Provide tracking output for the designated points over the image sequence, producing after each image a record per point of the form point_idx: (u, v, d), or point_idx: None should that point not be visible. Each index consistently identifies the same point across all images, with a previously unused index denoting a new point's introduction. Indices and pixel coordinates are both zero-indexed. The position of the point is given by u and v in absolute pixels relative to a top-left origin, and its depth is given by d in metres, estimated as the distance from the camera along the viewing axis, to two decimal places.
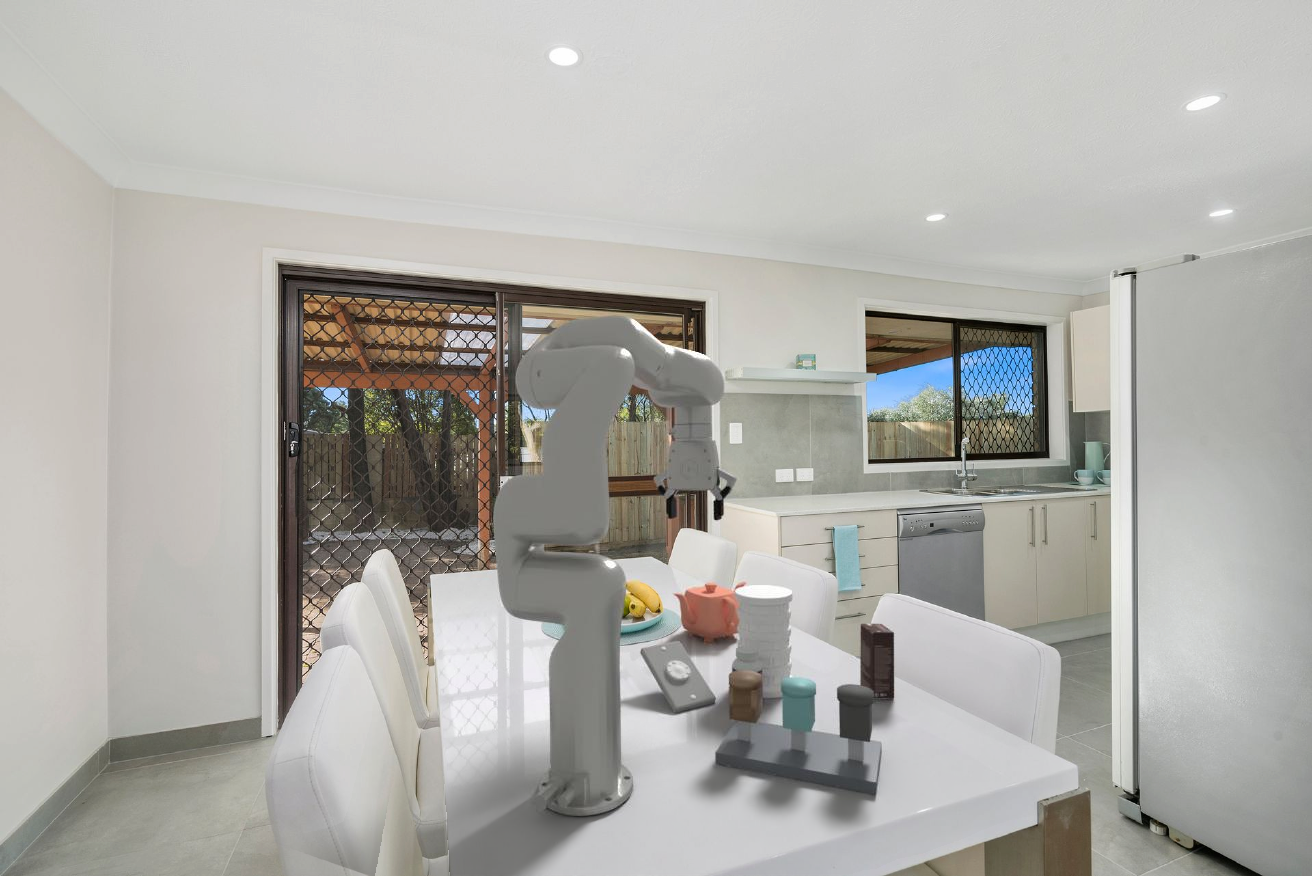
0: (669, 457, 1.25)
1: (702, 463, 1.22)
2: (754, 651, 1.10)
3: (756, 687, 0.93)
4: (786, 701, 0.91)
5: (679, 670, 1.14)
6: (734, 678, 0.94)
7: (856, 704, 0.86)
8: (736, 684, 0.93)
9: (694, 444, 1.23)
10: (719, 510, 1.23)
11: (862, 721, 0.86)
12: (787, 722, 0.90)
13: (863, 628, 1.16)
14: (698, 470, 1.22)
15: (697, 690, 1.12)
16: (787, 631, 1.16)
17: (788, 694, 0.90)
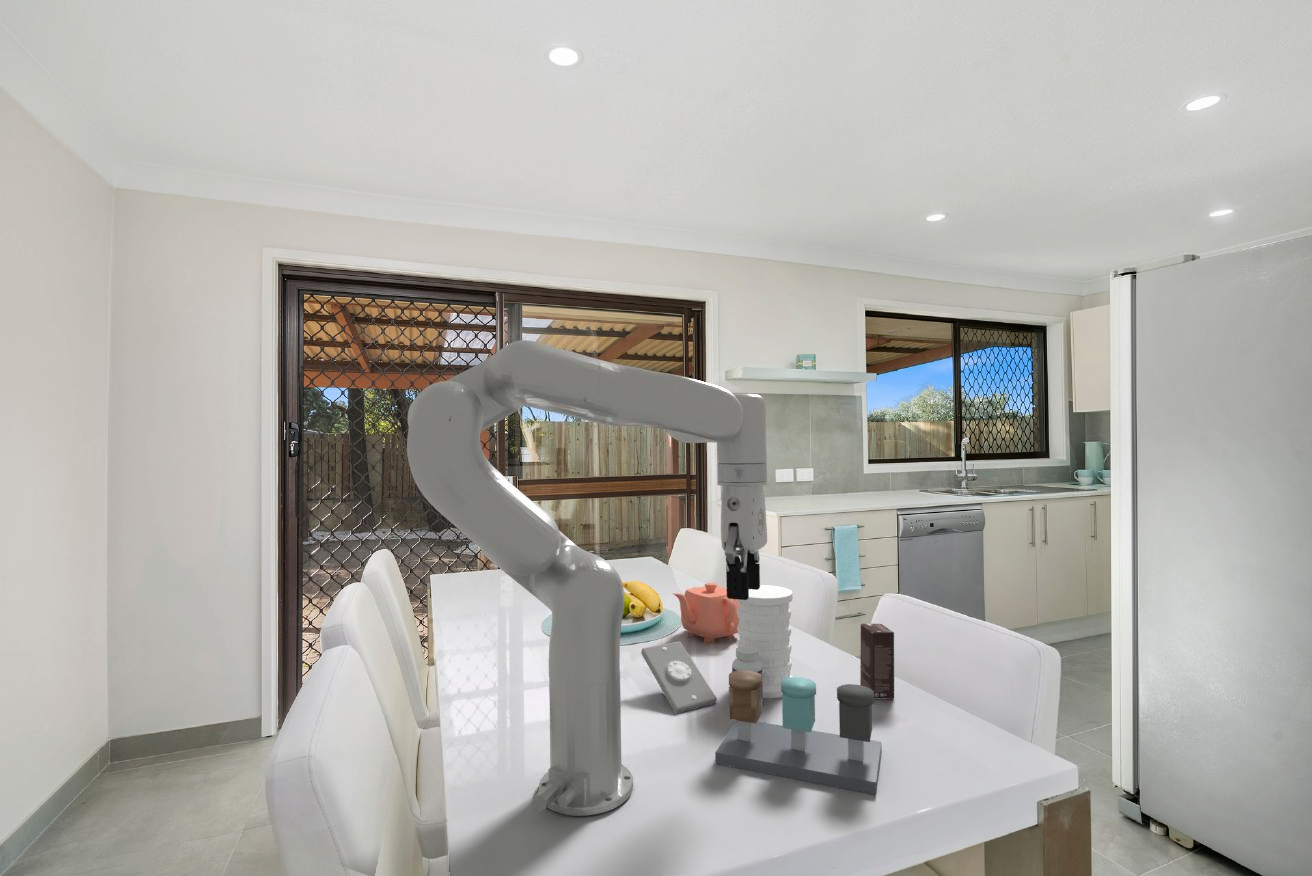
0: (751, 509, 0.90)
1: (764, 512, 0.97)
2: (754, 651, 1.10)
3: (756, 687, 0.93)
4: (786, 701, 0.91)
5: (680, 670, 1.14)
6: (734, 678, 0.94)
7: (856, 704, 0.86)
8: (736, 684, 0.93)
9: (761, 488, 0.95)
10: None
11: (862, 721, 0.86)
12: (787, 722, 0.90)
13: (863, 628, 1.16)
14: (763, 522, 0.96)
15: (698, 691, 1.12)
16: (787, 631, 1.16)
17: (788, 694, 0.90)
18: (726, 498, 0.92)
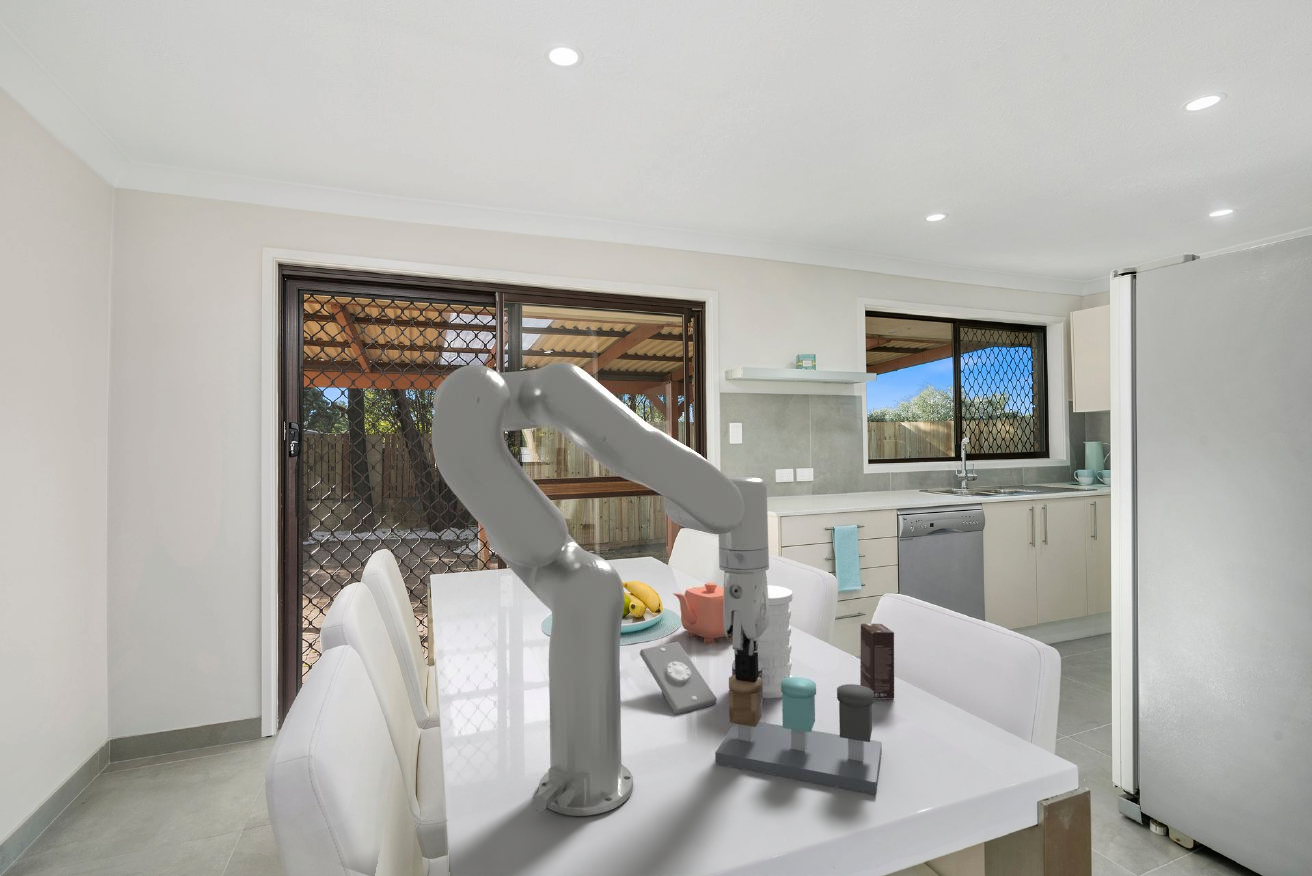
0: (753, 597, 0.90)
1: (766, 594, 0.97)
2: (754, 651, 1.10)
3: (756, 691, 0.93)
4: (786, 701, 0.91)
5: (680, 671, 1.14)
6: (734, 681, 0.94)
7: (856, 704, 0.86)
8: (736, 688, 0.93)
9: (763, 571, 0.95)
10: None
11: (862, 721, 0.86)
12: (787, 722, 0.90)
13: (863, 628, 1.16)
14: (766, 604, 0.96)
15: (698, 691, 1.12)
16: (787, 631, 1.16)
17: (788, 694, 0.90)
18: (728, 585, 0.91)
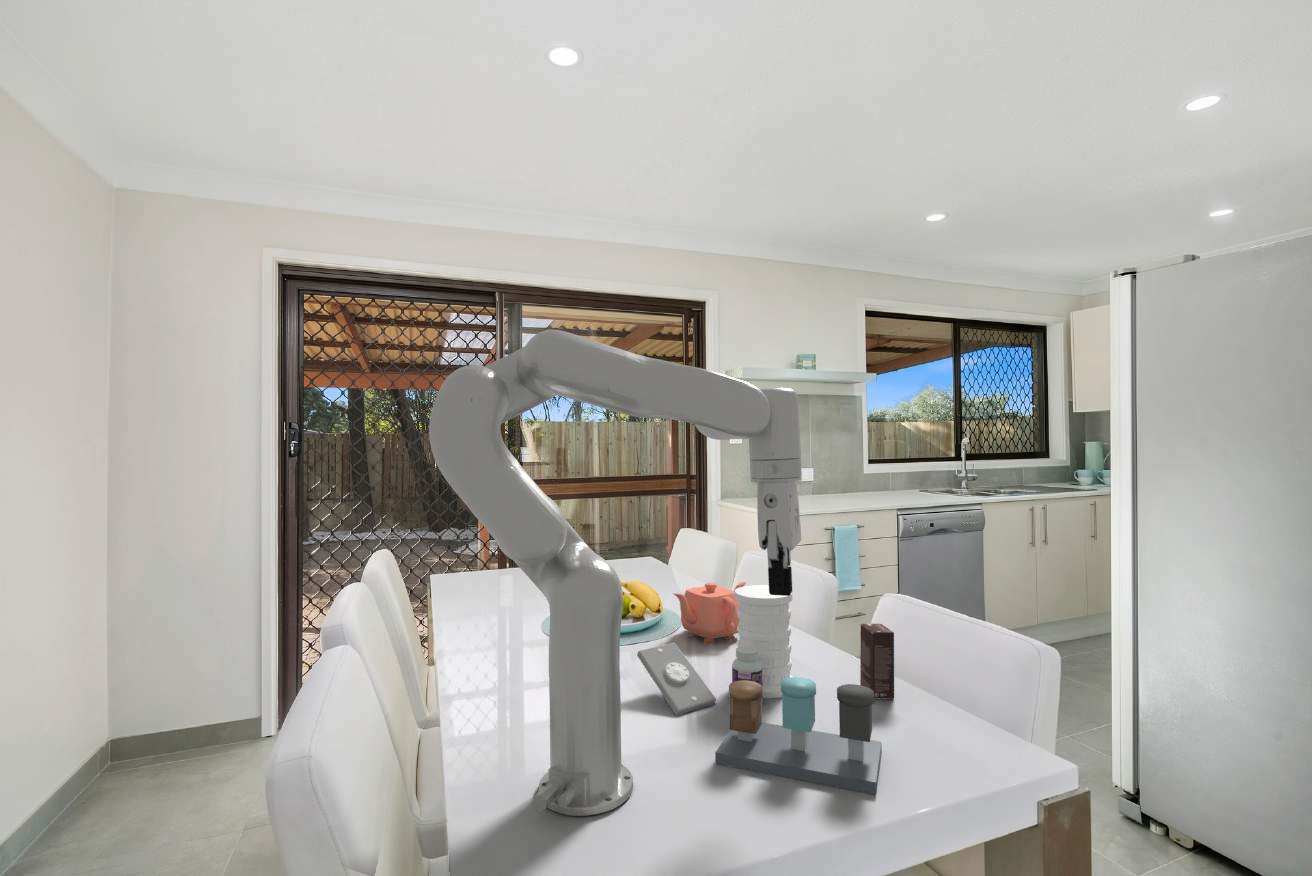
0: (789, 505, 0.88)
1: (798, 508, 0.95)
2: (754, 651, 1.10)
3: (756, 698, 0.93)
4: (786, 701, 0.91)
5: (678, 671, 1.13)
6: (734, 688, 0.94)
7: (856, 704, 0.86)
8: (736, 695, 0.93)
9: (795, 484, 0.93)
10: None
11: (862, 721, 0.86)
12: (787, 722, 0.90)
13: (863, 628, 1.16)
14: (798, 518, 0.94)
15: (697, 692, 1.11)
16: (787, 631, 1.16)
17: (788, 694, 0.90)
18: (762, 495, 0.90)
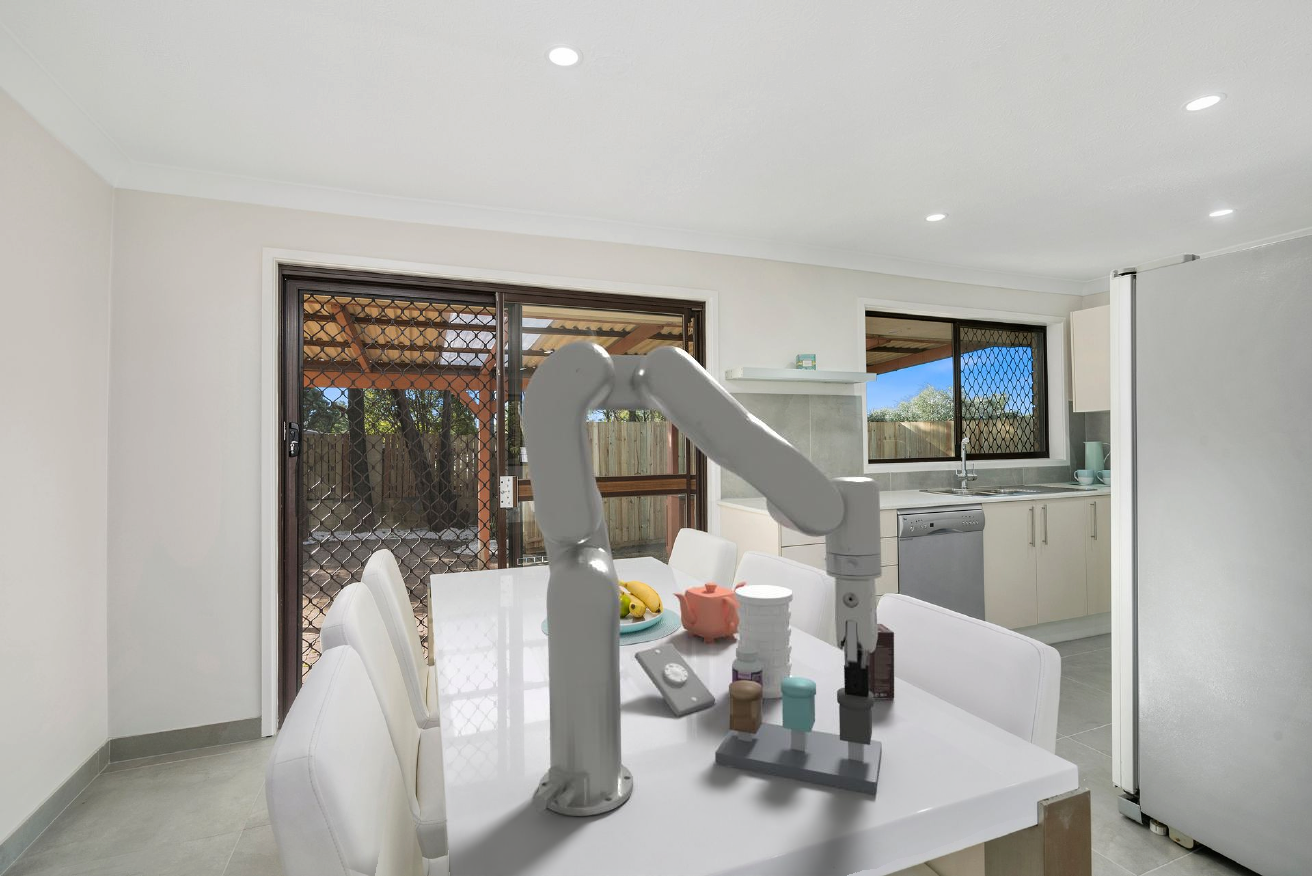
0: (870, 606, 0.84)
1: None
2: (754, 651, 1.10)
3: (756, 698, 0.93)
4: (786, 701, 0.91)
5: (677, 672, 1.13)
6: (734, 688, 0.94)
7: (856, 707, 0.86)
8: (736, 695, 0.93)
9: None
10: None
11: (862, 724, 0.86)
12: (787, 722, 0.90)
13: None
14: (876, 613, 0.89)
15: (697, 692, 1.11)
16: (787, 631, 1.16)
17: (788, 694, 0.90)
18: (841, 593, 0.85)
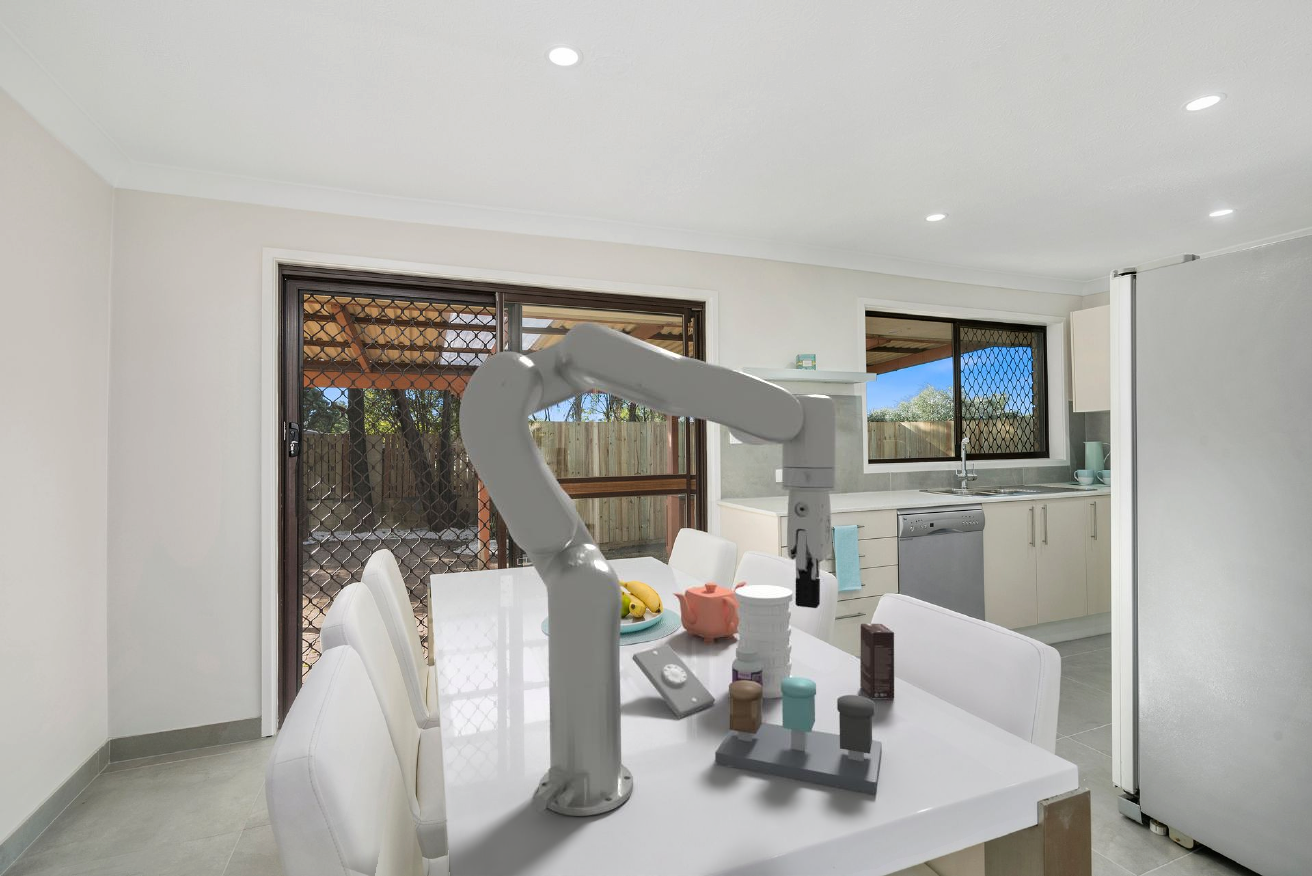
0: (820, 515, 0.86)
1: (830, 519, 0.93)
2: (754, 651, 1.10)
3: (756, 698, 0.93)
4: (786, 701, 0.91)
5: (676, 673, 1.13)
6: (734, 688, 0.94)
7: (856, 715, 0.86)
8: (736, 695, 0.93)
9: (828, 494, 0.91)
10: None
11: (862, 733, 0.86)
12: (787, 722, 0.90)
13: (863, 628, 1.16)
14: (829, 529, 0.92)
15: (696, 693, 1.11)
16: (787, 631, 1.16)
17: (788, 694, 0.90)
18: (793, 503, 0.88)
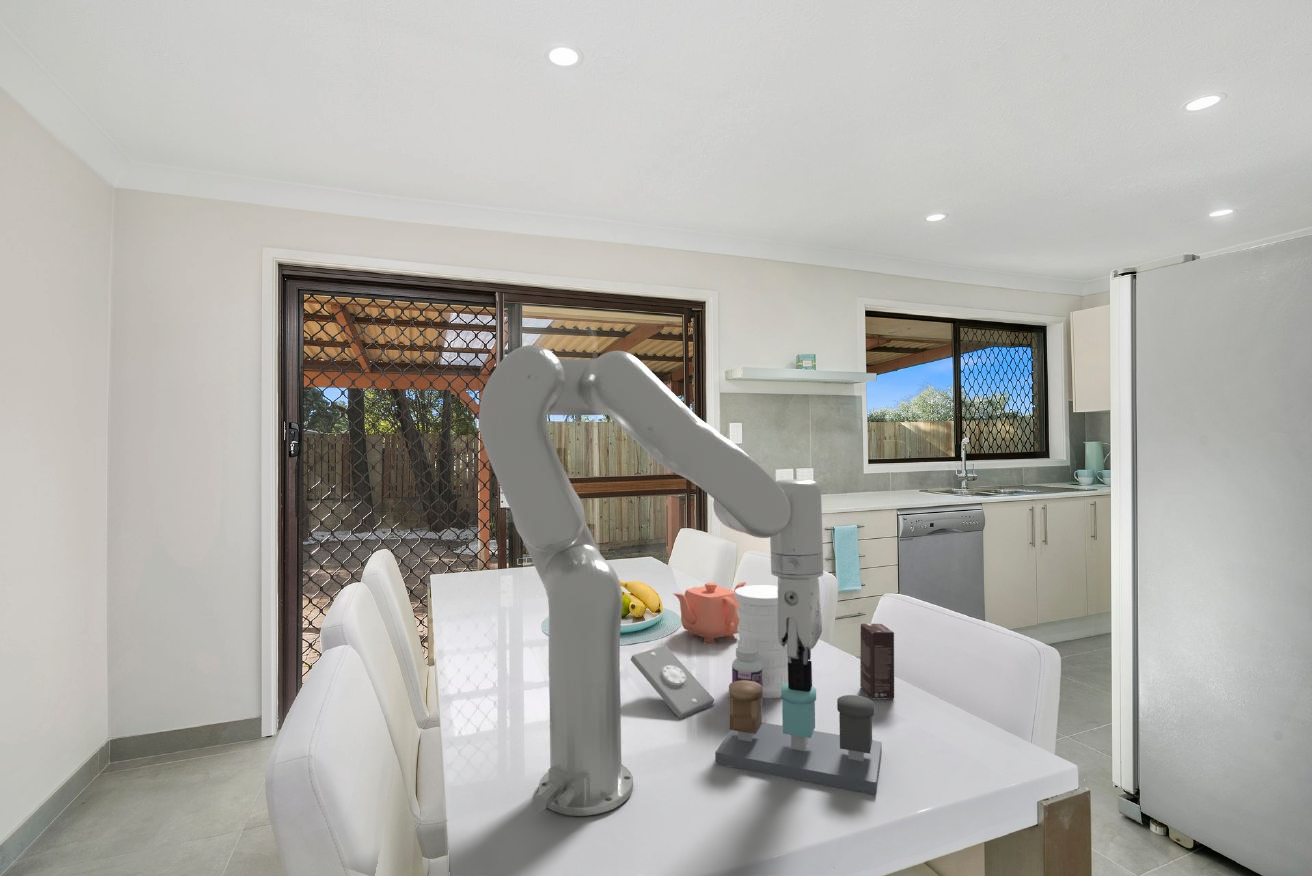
0: (810, 604, 0.87)
1: (819, 600, 0.93)
2: (754, 651, 1.10)
3: (756, 698, 0.93)
4: (786, 707, 0.91)
5: (675, 674, 1.12)
6: (734, 688, 0.94)
7: (856, 715, 0.86)
8: (736, 695, 0.93)
9: (816, 577, 0.92)
10: None
11: (862, 733, 0.86)
12: (787, 728, 0.90)
13: (863, 628, 1.16)
14: (819, 611, 0.93)
15: (696, 693, 1.11)
16: None
17: (788, 700, 0.90)
18: (783, 591, 0.88)
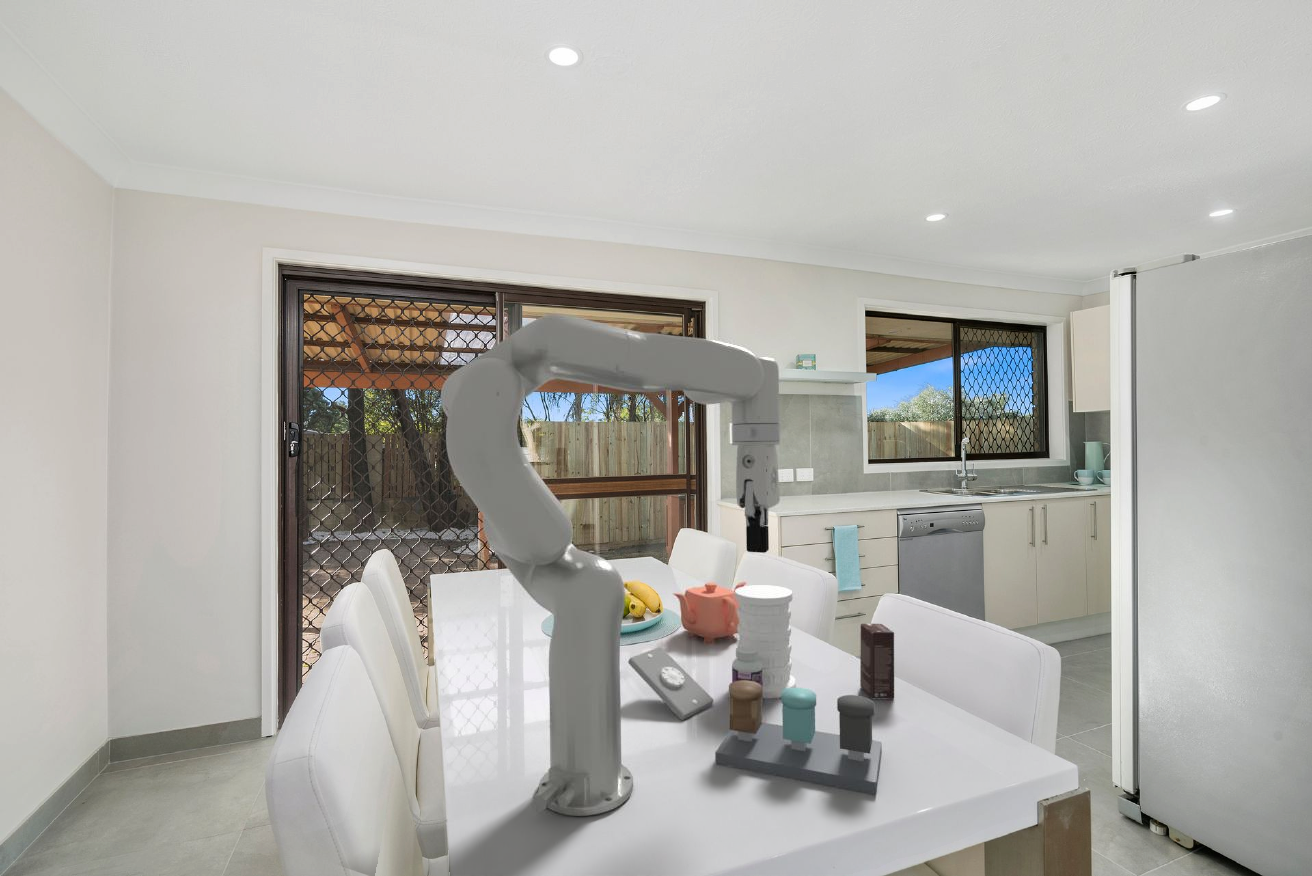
0: (765, 466, 0.95)
1: (777, 472, 1.01)
2: (754, 651, 1.10)
3: (756, 698, 0.93)
4: (786, 712, 0.91)
5: (674, 676, 1.11)
6: (734, 688, 0.94)
7: (856, 715, 0.86)
8: (736, 695, 0.93)
9: (774, 448, 0.99)
10: None
11: (862, 733, 0.86)
12: (787, 733, 0.90)
13: (863, 628, 1.16)
14: (776, 481, 1.00)
15: (696, 694, 1.10)
16: (787, 631, 1.16)
17: (788, 705, 0.90)
18: (741, 456, 0.96)
